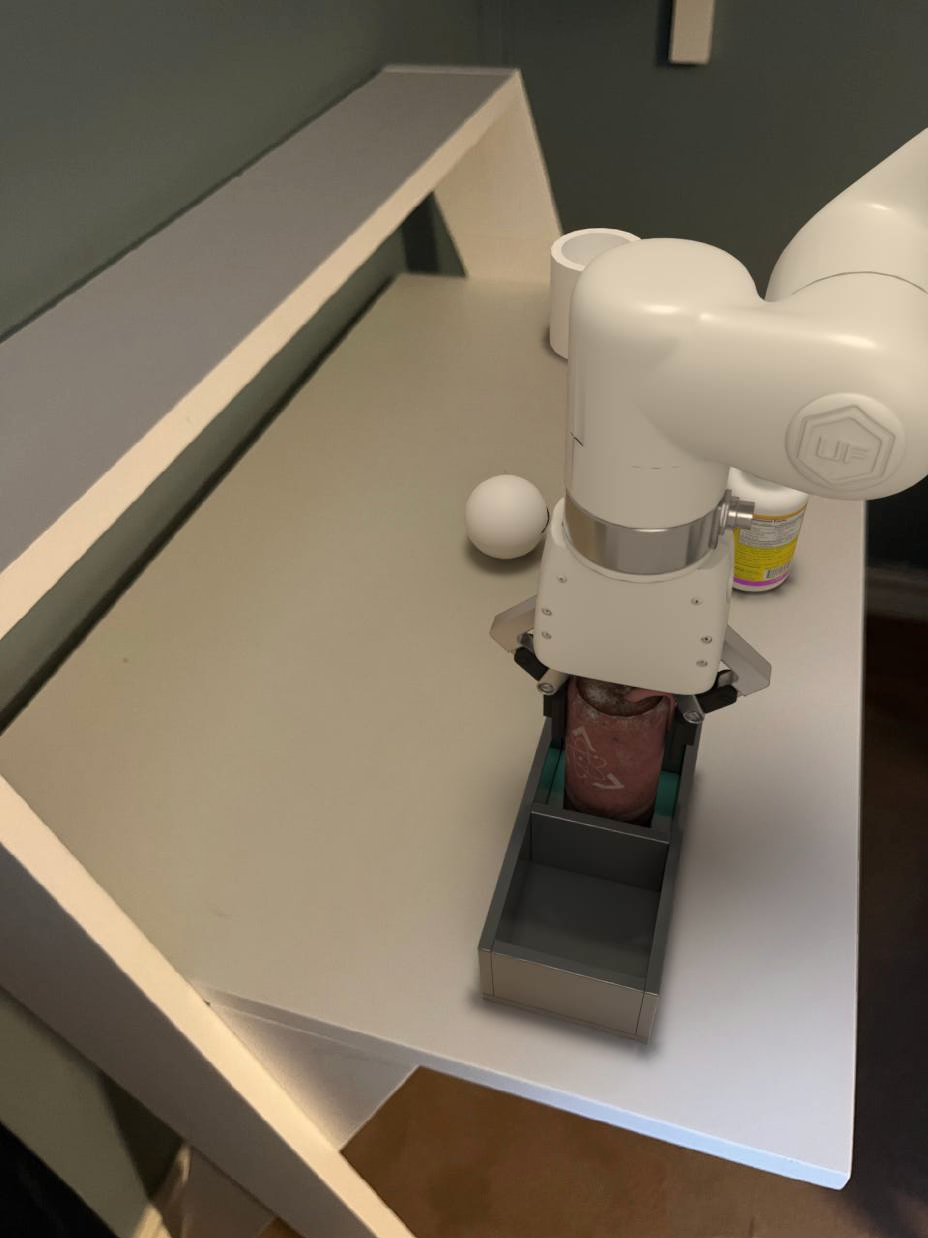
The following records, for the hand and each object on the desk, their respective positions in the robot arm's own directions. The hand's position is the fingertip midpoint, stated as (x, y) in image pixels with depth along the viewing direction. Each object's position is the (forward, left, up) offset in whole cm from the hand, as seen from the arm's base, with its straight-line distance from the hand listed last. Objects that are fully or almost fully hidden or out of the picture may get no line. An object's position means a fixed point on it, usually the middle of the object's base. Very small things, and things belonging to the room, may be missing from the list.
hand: (618, 730), depth 59 cm
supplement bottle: (-7, -28, -10) cm, 30 cm away
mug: (+13, -61, -10) cm, 63 cm away
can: (0, 0, -9) cm, 9 cm away
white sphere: (+14, -27, -10) cm, 32 cm away
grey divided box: (0, +5, -10) cm, 11 cm away
